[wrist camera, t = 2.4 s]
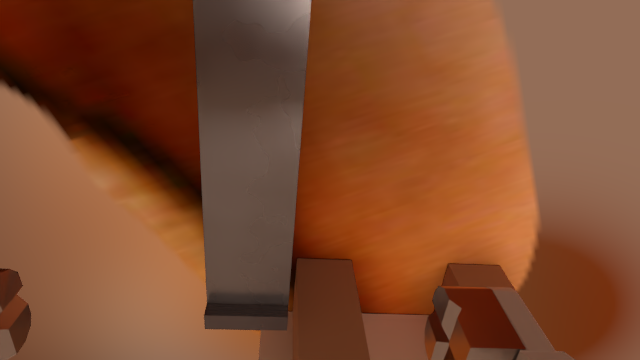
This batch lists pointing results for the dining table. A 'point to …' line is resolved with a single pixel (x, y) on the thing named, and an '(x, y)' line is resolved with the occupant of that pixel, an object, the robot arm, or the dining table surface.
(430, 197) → the dining table surface
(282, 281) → the rail
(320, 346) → the slab with twin posts
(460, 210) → the dining table surface
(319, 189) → the dining table surface
